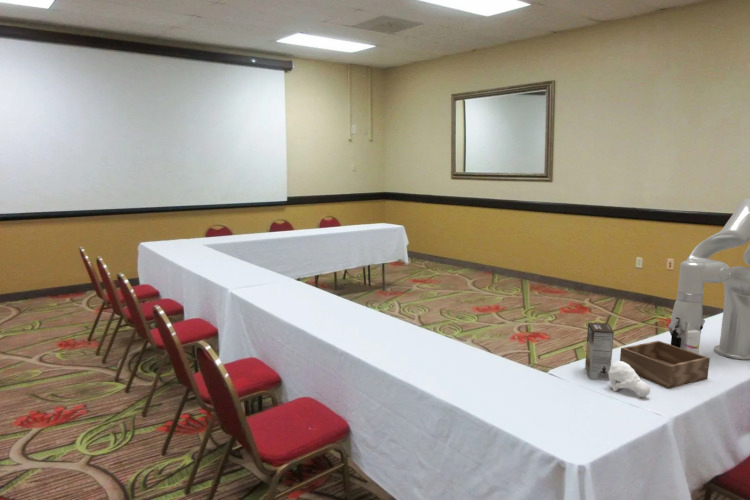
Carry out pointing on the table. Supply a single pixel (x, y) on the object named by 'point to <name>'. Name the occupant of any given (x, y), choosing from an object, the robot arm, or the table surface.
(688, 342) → the ink cartridge box
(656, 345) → the walnut box
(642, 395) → the white figurine
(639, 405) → the table surface
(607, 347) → the coffee box
